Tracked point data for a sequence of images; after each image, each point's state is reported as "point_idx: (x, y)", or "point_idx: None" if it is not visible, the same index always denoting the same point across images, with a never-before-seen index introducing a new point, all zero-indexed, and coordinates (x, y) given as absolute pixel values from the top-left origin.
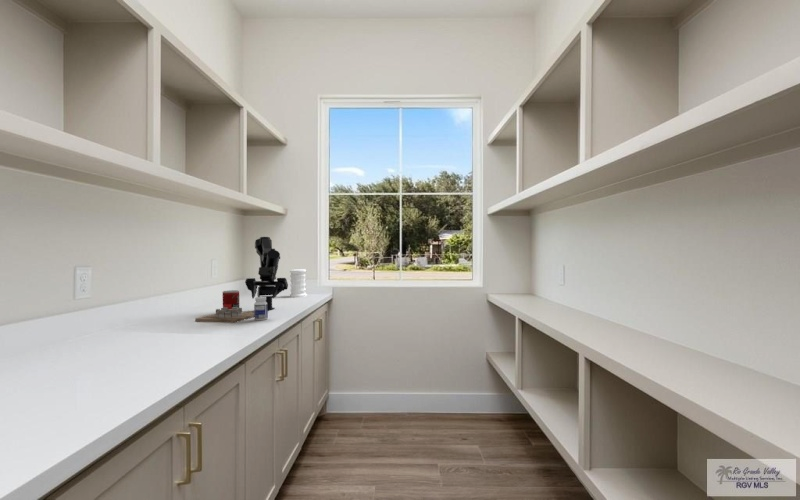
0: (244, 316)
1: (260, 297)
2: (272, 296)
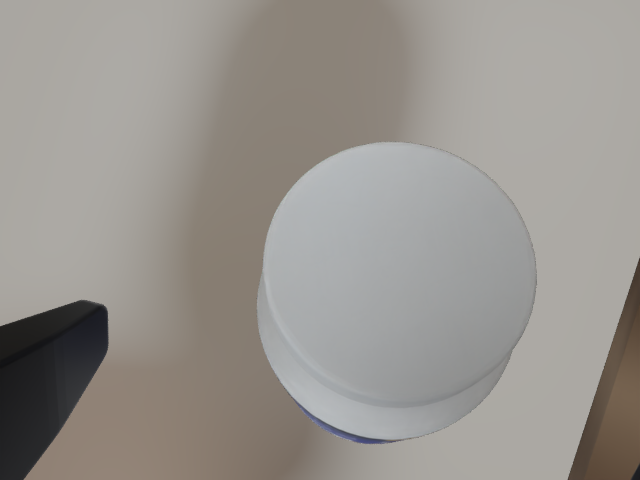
0: (637, 463)
1: (407, 267)
2: (95, 303)
